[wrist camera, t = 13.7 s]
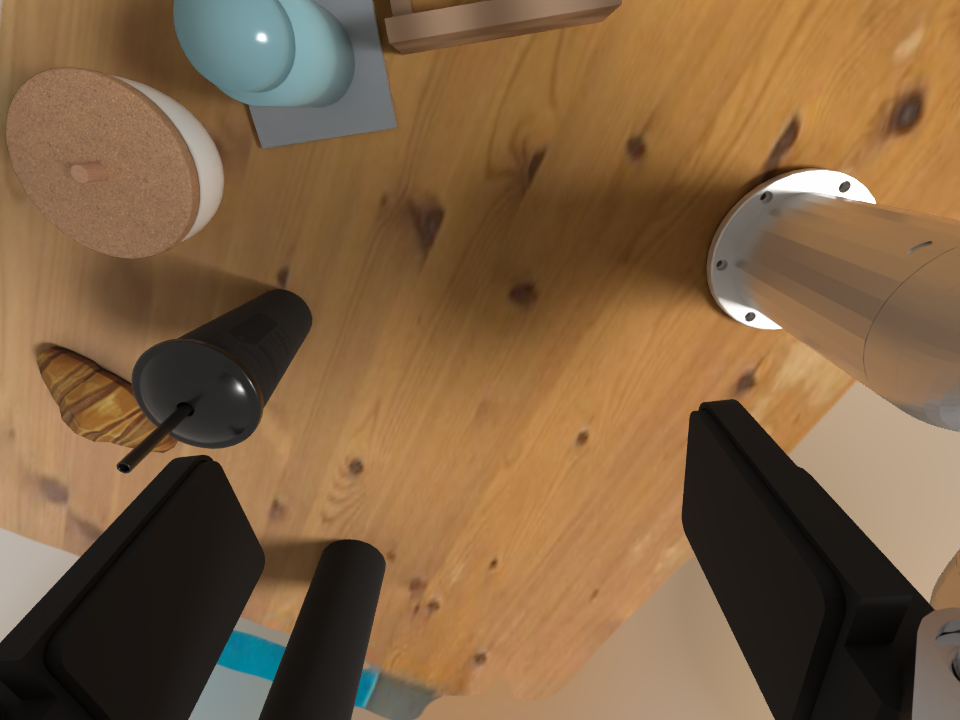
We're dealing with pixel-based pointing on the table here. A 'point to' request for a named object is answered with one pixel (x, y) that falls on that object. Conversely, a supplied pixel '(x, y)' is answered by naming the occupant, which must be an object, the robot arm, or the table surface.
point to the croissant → (96, 400)
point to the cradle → (487, 21)
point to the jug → (267, 50)
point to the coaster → (360, 105)
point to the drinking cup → (218, 374)
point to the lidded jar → (113, 161)
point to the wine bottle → (329, 637)
